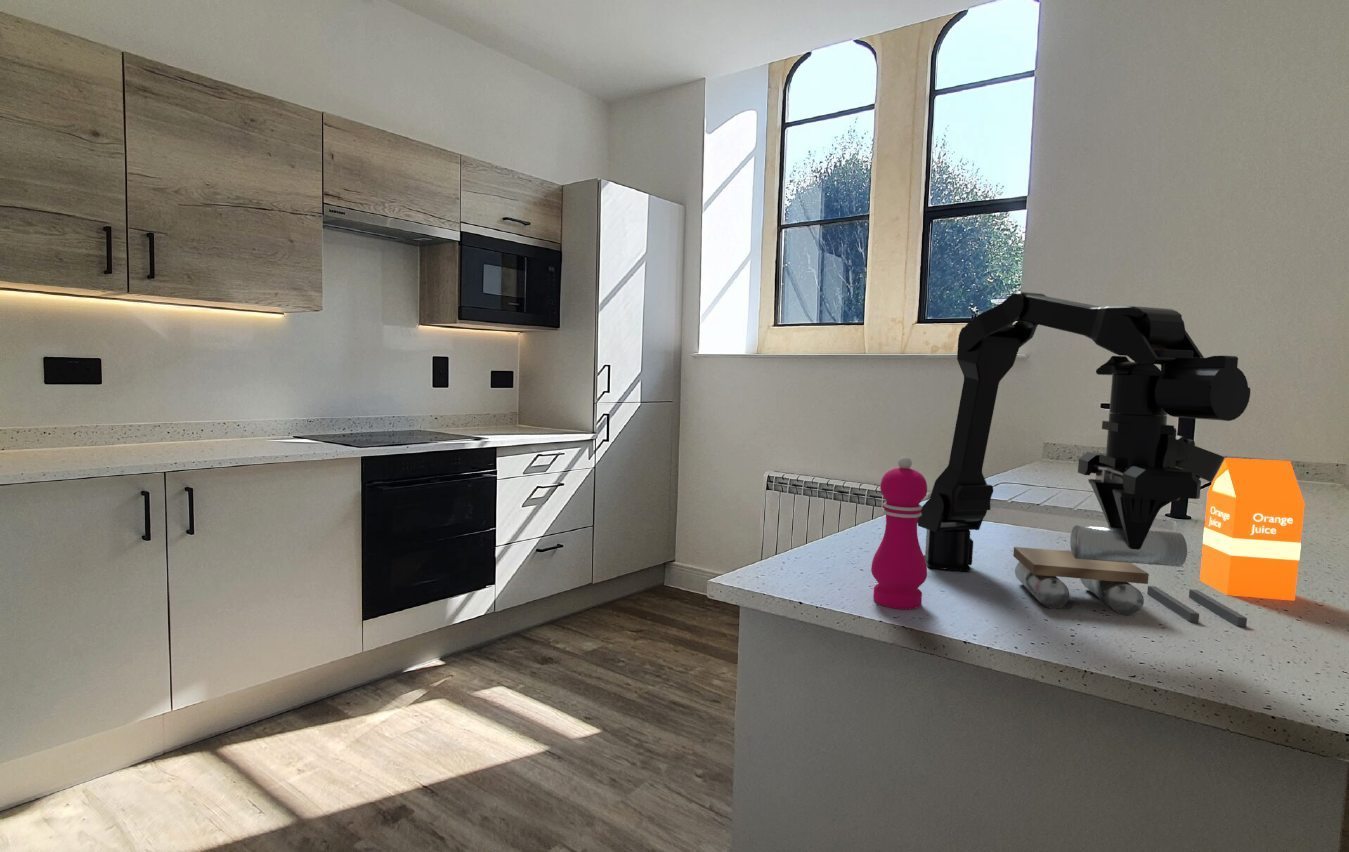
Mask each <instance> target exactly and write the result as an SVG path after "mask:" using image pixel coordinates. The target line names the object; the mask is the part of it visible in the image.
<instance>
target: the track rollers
mask: <svg viewBox="0 0 1349 852" xmlns="http://www.w3.org/2000/svg"><path fill="white" fill-rule="evenodd" d="M1014 575H1015V577H1016V579H1017V580H1018V581H1019V582H1020V583H1021V585H1023V587H1025V589H1027V590H1028V592H1029V593H1030V594H1031V595H1033V597H1034V598H1036V600H1037V601H1038V602H1039V603H1040V604H1041V605H1042V606H1044V607H1046V608H1048V609H1060V608H1062V607H1063V606H1065V605H1066V604H1067V602H1068V601H1069V599H1070V590H1069V587H1068V586H1067V585H1066V584H1065V583H1064V582H1063V581H1062V580H1061V579H1060V578H1059V577H1057V576H1044V575H1033V574H1032V573H1031V572H1030V571H1029V570H1028V569H1027V568H1026V567H1025V566H1024V565H1022V564H1021V563H1020V562H1019V561H1018V563H1017V564H1016V566H1015V568H1014ZM1079 579H1080V582H1081V584H1082V586H1084V587H1085V588H1086V589H1088V591H1090V592H1091V593H1093V594H1094V595H1095V596H1096V597H1098V599H1100V600H1101V601H1102V602H1104V603H1105V604H1106V605H1107V606H1109V607H1110V608H1112V609H1113V610H1114V611H1115V612H1117V613H1118V614H1120V615H1123V616H1133V615H1135V614H1137V613H1139V612H1140V611H1141V610H1142V608H1143V607H1144V603H1145V599H1144V595H1143V593H1142V592H1141V590H1139V588H1137V587H1136V586H1134V585H1132V583H1130V582H1117V581H1105V580H1093V579H1081V578H1079Z"/></svg>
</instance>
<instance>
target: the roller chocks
mask: <svg viewBox="0 0 1349 852" xmlns="http://www.w3.org/2000/svg"><path fill="white" fill-rule="evenodd" d="M1188 590H1189V592H1188V598H1189V599H1190V600H1192V601H1194V602H1195V603H1198V604H1199V605H1201V606H1203V607H1205V608H1206V609H1208V610H1209V611H1211V612H1213V613H1214V614H1215V615H1217V616H1220V617H1221V618H1222V619H1225V620H1226V621H1227V622H1229V623H1231V624H1232V625H1234V626H1236V627H1241V628H1247V622H1248V617H1246V616H1245V615H1242V614H1241V613H1239V612H1237V610H1236V611H1235V610H1234V609H1232V608H1230V607H1228V606H1226V605H1225V604H1223V603H1221V602H1219V601H1218V600H1216V599H1214V598H1213V597H1211V596H1209V595H1207V594H1205V593H1204V592H1202V591H1201V590H1198V589H1192V588H1191V589H1190V588H1189V589H1188ZM1146 592H1147V595H1149V596H1150V597H1151V598H1153V599H1154V600H1156V601H1158V602H1159V603H1160V604H1162V605H1164V606H1165V607H1166V608H1168V609H1169V610H1171V611H1173V612H1174V613H1175V614H1177V615H1179V616H1180V617H1182V618H1183V619H1184V620H1186V621H1188V622H1189V623H1195V624H1196V623H1197V624H1198V623H1199V620H1200V613H1199V612H1198V611H1196V610H1194V609H1192V608H1191V607H1190V606H1187V605H1186V604H1185V603H1183V602H1181V601H1180V600H1178V599H1177V598H1175V597H1174V596H1172V595H1170V594H1168V592H1166V591H1164V590H1162V589H1160V588H1159V587H1158V586H1155V585H1154V586H1153V585H1147V591H1146Z"/></svg>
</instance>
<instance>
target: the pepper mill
mask: <svg viewBox="0 0 1349 852" xmlns="http://www.w3.org/2000/svg"><path fill="white" fill-rule="evenodd" d="M897 464H898V467H895V468H892V469H890V470H888V471H887V472H885V474H884V475H883V476H882V478H881V479H880V480H881V482H880V489H879V490H880V492H881V495H882V496H883V498H885V501H884V502H883V504H882V505H883V509H882V513H883V514H884V515H885V530H884V533H883V537H882V540H881V542H880V544H879V546H878V548H877V550H876V551H875V553H874V555H873V558H872V562H871V569H870V570H871V571H870V572H871V575H872V576H873V578H874V580H875V581H876V582H877V584H876V585H874V587H873V601H874V602H875V603H877V604H878V605H881V606H884V607H887V608H890V609H896V610H914V609H918V608H920V607H921V605H922V601H923V597H922V596H923V591H921V590H920V589H919V588H920V587H921V585H923V584H924V583H925V582H926V580H927V577H928V566H927V565H926V562H925V558H924V556H923V555H924V554H923V550H922V548H921V545H920V542H919V537H918V517H920V516H921V515H922V513H921V509H922V506H923V505H921V502H922V501H923V499H925V497H926V496H927V494H928V484H927V480H926V477H925V476H924V475H923V474H922V473H921V472H919V471H918V470H916V469H914V468H911V467H912V465H913V461H912V459H911V458H910V457H908V456H901V457H900V458H899V459H898V461H897Z"/></svg>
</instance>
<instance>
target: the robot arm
mask: <svg viewBox="0 0 1349 852" xmlns="http://www.w3.org/2000/svg"><path fill="white" fill-rule="evenodd" d="M1182 317H1183V316H1182V314H1181V313H1180V312H1179V311H1178V310H1174V309H1172V308H1162V307H1161V308H1160V307H1146V306H1135V305H1134V306H1133V305H1116V306H1115V305H1114V306H1111V305H1109V306H1100V305H1099V306H1098V305H1094V304H1090V303H1089V304H1088V303H1084V302H1077V301H1073V300H1068V299H1062V298H1056V297H1051V296H1047V295H1045V294H1044V293H1038V292H1037V293H1036V292H1026V291H1024V292H1023V291H1016V292H1015V293H1013V294H1011V295H1009V296H1008V297H1007V298H1006V299H1005V300H1004V301H1003V302H1001V303H999V304H997V305H996V306H993V307H992V308H989V309H987V310H986V311H983V312H981V313H980V314H978V315H977V316H976V317H975V318H973V320H971V321H969V322H967V324H966V325H965V326H962V327H961V330H960V332H959V334H958V340H957V354H956V360H957V362H958V366H959V367H960V370H961V373H962V374H963V383H962V389H961V395H960V398H959V399H960V400H959V405H958V411H957V415H956V422H955V426H954V427H955V428H954V433H953V439H952V444H951V450H950V455H949V461H948V465H947V467H945V469H944V470H943V471H942V472H941V473H940V475H938V477H937V478H936V479H935V480H934V485H933V487H932V489H931V493H930V497H929V499H927V501H926V502H925V503H924V504H923V505H921V506H922V509H921V513H922V515H921V516H920V517H918V522H917V527H921V528H923V529H925V530H926V536H925V550H924V551H925V552H924V553H925V554H923V556H924V558H925V562H926V566H927V568H930V569H938V570H939V569H940V570H950V571H951V570H952V571H965V572H971V570H972V568H971V566H972V565H973V556H974V555H973V553H974V540H973V539H972V538H971V531H973V530H975V531H980V530H981V526H982V523H983V521H984V518H985V517H986V516H987V512H988V511H991V499H992V496H993V493H994V487H993V485H992V484H988V483H987V481H986V479H985V477H984V474H983V468H984V467H983V466H984V462H985V457H986V452H987V446H988V442H989V435H990V431H991V424H992V420H993V415H994V411H995V405H996V400H997V395H998V391H999V390H998V389H999V385H1000V382H1001V381H1002V379H1003V378H1004V377H1005V376H1006V375H1007V374H1008V372H1009V371H1010V370H1011V369H1012V368H1013V366H1014V365H1015V362H1016V359H1017V356H1018V353H1019V350H1020V348H1021V347H1022V346H1023V345H1025V344H1027V342H1028V341H1031V339H1033V337H1034V335H1035V333H1036V330H1037V328H1038V326H1039V325H1040V326H1044V327H1048V328H1052V329H1055V330H1059V331H1064V332H1068V333H1073V334H1076V335H1080V336H1084V337H1086V338H1088V339H1090V340H1092V342H1093V343H1094V344H1095V345H1097V346H1098V347H1101V348H1102V349H1105V350H1107V351H1109V352H1111V353H1112V354H1115V355H1112V356H1111V357H1110V358H1109V359H1108V360H1107V361H1106V362H1105V363H1103V364H1102V365H1100V366H1099V367H1098V368H1097V369H1096V371H1095V373H1096V375H1098V376H1099V375H1100V376H1111V385H1110V400H1109V401H1110V402H1109V410H1108V412H1109V413H1108V420H1102V422H1101V429H1102V430H1106V431H1107V439H1106V446H1105V447H1106V449H1105V450H1106V451H1105V452H1091V451H1089V452H1088V451H1087V452H1085V453H1084V454H1083V455H1082V456H1080V457H1079V458H1078V465H1077V466H1078V467H1077V473H1079V474H1080V475H1081V474H1082V475H1083V476H1091V474H1095V479H1094V478H1089V479H1087V481H1088V484H1089V485H1090V486H1091V488H1092V490H1093V493H1094V495H1095V498H1096V499H1097V501H1098V504H1099V506H1100V509H1101V511H1102V513H1103V515H1104V518H1105V520H1106V523H1107V526H1108V528H1122V529H1123V530H1124V534H1125V537H1126V540H1127V544H1128V547H1129V548H1130V549H1136V550H1139V549H1141V547H1142V545H1143V542H1144V540H1145V538H1146V536H1147V534H1148V532H1149V530H1151V527H1152V525H1153V523H1154V521H1155V520H1156V517H1157V516H1158V513H1159V512H1160V510H1161V509H1163V507H1165V506H1167V505H1169V504H1170V503H1172V502H1175V501H1176V502H1177V501H1179V500H1180V499H1190V500H1191V499H1193V500H1198V499H1200V498H1201V486H1202V480H1200V479H1203V480H1206V481H1207V482H1209V483H1212V482H1213V480H1214V478H1215V477H1216V475H1217V473H1218V471H1219V469H1220V467H1221V465H1222V464H1223V462H1224V460H1225V458H1226V457H1225V456H1224V455H1223V456H1222V455H1221V454H1218V453H1215V452H1213V451H1210V450H1207V449H1204V448H1203V447H1200V446H1197V445H1196V442H1195V440H1194V439H1189V438H1185V437H1184V436H1182V435H1177V429H1176V428H1175V425H1171V424H1167V422H1168V421H1167V420H1168V416H1170V417H1174V418H1181V419H1182V418H1183V419H1197V420H1198V419H1199V420H1211V421H1223V422H1226V421H1227V422H1230V421H1234V420H1236V419H1238V418H1240V416H1241V415H1242V414H1244V412H1245V410H1246V409H1247V407H1248V405H1249V402H1250V398H1251V397H1250V396H1251V387H1249V384H1248V379H1247V377H1246V376H1245V374H1244V372H1243V371H1242V370H1241V369H1240V368H1238V364H1239V358H1238V355H1209V356H1207V357H1204V356H1203V354H1202V352H1201V351H1200V349H1199V348H1198V346H1197V345H1196V343H1195V342H1194V341H1193V340H1192V338H1191V336H1190V335H1189V333H1188V332H1187V330H1186V328H1185V327H1186V326H1185V322H1184V320H1183V318H1182ZM1129 359H1130V360H1132V361H1130V360H1129ZM1157 365H1160V368H1159V367H1158V366H1157Z"/></svg>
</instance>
